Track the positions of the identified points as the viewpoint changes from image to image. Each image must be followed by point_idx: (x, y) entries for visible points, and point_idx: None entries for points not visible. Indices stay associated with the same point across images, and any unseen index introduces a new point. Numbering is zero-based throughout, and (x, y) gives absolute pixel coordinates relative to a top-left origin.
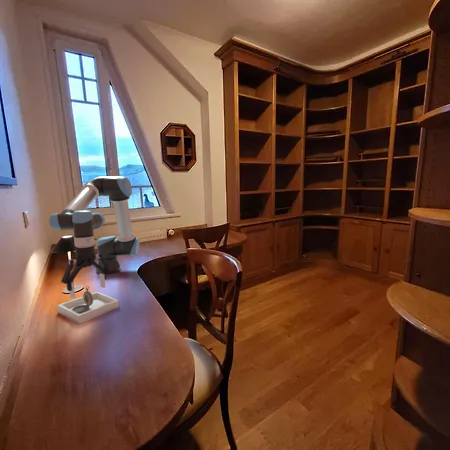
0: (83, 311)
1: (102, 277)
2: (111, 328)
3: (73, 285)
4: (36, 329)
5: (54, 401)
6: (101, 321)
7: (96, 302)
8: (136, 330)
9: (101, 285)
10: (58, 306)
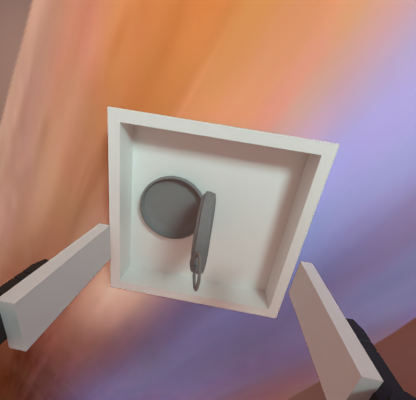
0: (166, 235)
1: (322, 368)
2: (160, 349)
3: (41, 328)
4: (28, 174)
5: (4, 392)
6: (171, 307)
7: (259, 200)
8: (183, 393)
9: (300, 280)
10: (111, 114)
